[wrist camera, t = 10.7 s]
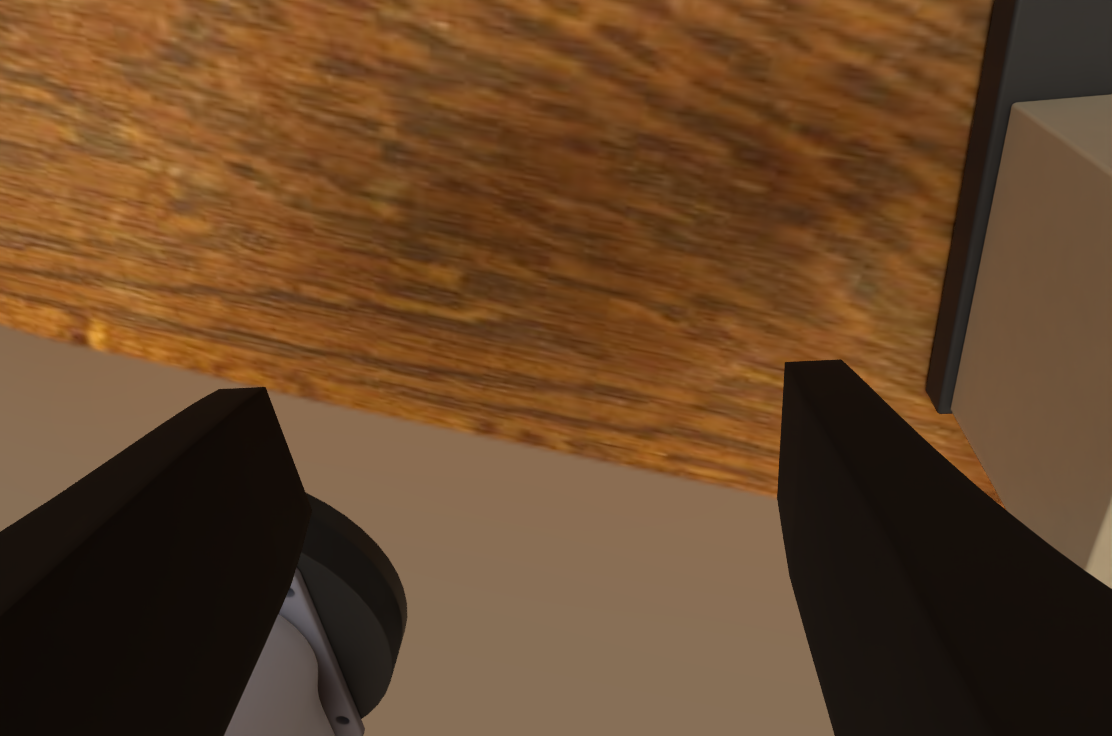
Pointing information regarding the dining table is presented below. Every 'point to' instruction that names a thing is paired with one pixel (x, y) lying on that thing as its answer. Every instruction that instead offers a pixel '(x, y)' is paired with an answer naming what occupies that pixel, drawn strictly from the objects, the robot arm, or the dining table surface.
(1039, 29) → the shelf board
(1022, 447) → the taupe rectangular block
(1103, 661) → the robot arm
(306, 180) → the dining table surface
